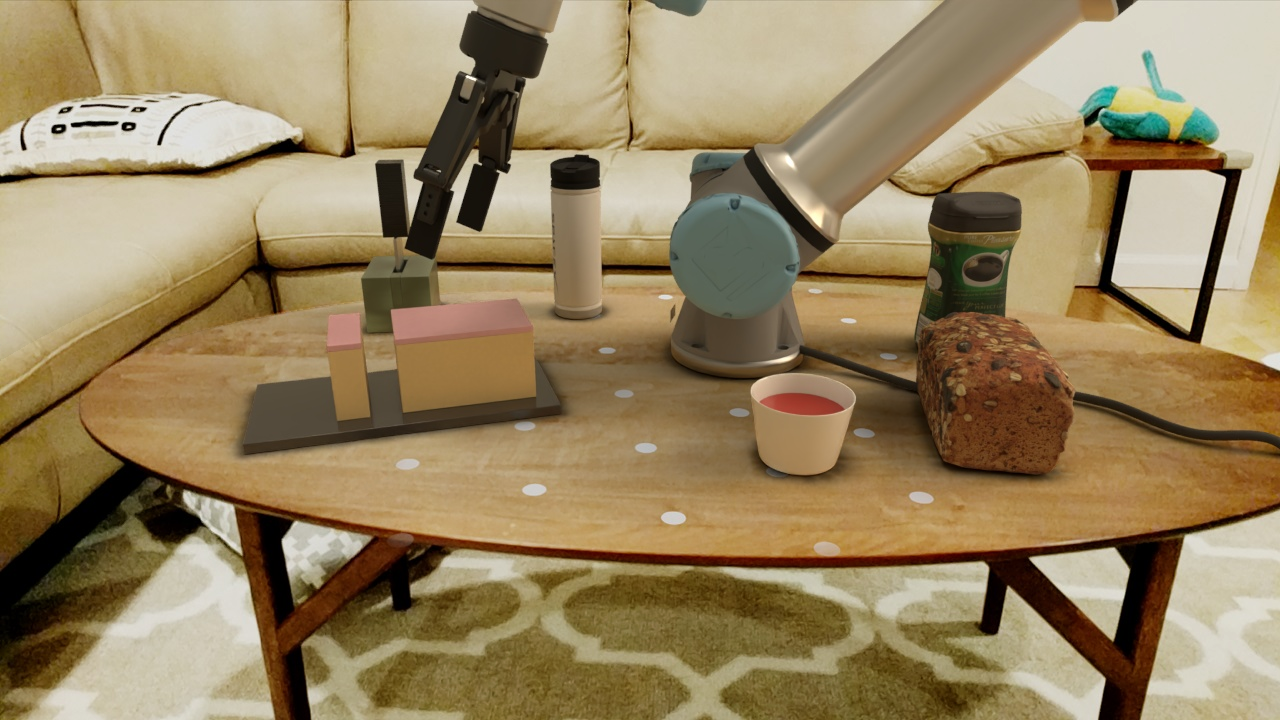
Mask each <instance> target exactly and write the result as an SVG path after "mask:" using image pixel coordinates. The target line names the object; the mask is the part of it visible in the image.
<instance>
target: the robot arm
mask: <svg viewBox="0 0 1280 720" xmlns="http://www.w3.org/2000/svg"><path fill="white" fill-rule="evenodd" d="M563 1H564V0H472V2H473V4H474V5H475V6H477V8H476V10H471V11H470V12H468V13H467V16H466V19H465V23H464V25H463V26H464V27H463V29H462V32H461V37H460V40H459V44H458V45H459V50H460V51H461V52H462V54H464V55H465V56H467V57H468V58H471V59H473V61H474V66H473V68H472V71H471V72H470V74H469V73H468V72H464V71H462V70H459V71H458V72H457V74H456V75H455V78H454V79H455V80H454V82H453V85H452V88H451V91H450V94H449V97H448V99H447V102H446V104H445V106H444V108H443V111H442V113H441V115H440V117H439V120H437V121H438V122H437V124H436V126H435V128H434V130H433V132H432V134H431V137H430V139H429V142H428V143H427V146H426V147H425V150H424V152H423V154H422V157H421V159H420V161H419V164H418V166H417V168H415V169H414V171H413V179H414V180H416V181H419V182H421V183H422V184H421V188H420V191H419V195H418V199H417V203H416V205H415V210H414V212H413V217H412V220H411V222H410V230H409V234H408V237H406V240H405V245H404V248H403V250H407V251H410V253H411V252H412V253H413V254H415V255H421V256H424V257H426V258H428V259H431V260H432V259H434V258H435V256H436V257H437V252H438V248H439V246H440V242H441V238H442V236H443V232H444V229H445V225H446V222H447V218H448V215H449V213H450V208H451V205H452V202H453V198H454V194H455V191H454V190H452V188H453V186H454V185H455V182H456V180H457V178H458V176H459V175H460V173H461V171H462V169H463V168H464V165H465V164H466V162H467V160H468V158H469V157H470V155H471V153H472V151H473V149H474V147H475V145H476V143H477V141H478V153H477V154H478V155H477V157H478V159H477V160H478V161H477V162H475V163H473V165H472V167H471V171H470V175H469V177H468V181H467V183H466V184H467V185H466V188H465V191H464V194H463V198H462V200H461V204H460V208H459V211H458V213H457V218H456V222H455V223H456V224H459V225H461V226H463V227H466V228H469V229H471V230H474V231H475V232H478V233H480V232H482V231H483V229H484V226H485V222H486V219H487V217H488V213H489V209H490V206H491V204H492V203H491V202H492V200H493V196H494V193H495V190H496V188H497V184H498V180H499V177H500V175H501V173H504V174H506V175H507V174H509V173H510V170H511V166H512V164H511V163H510V161H511V159H512V152H513V146H514V141H515V135H516V128H517V123H518V118H519V111H520V107H521V101H522V97H523V93H524V90H525V87H526V86H527V85H526V84H527V79H530V80H533V79H536V78H538V77H539V75H540V73H541V70H542V67H543V63H544V61H545V57H546V53H547V51H548V48H549V46H550V45H549V42H548V39H547V38H546V35H547V34H551V33H554V31H555V27H556V24H557V21H558V18H559V14H560V11H561V7H562V5H563ZM644 1H646V2H648V3H650V4H653V5H654V6H655V7H656V8H658V9H659V10H666V11H668V12H673V13H677V14H679V15H682V16H685V17H689V18H690V17H695V16H697V15H698V14H700V13H701V12H702V11H703V8H704V6H705V5H706V3H707V1H708V0H644ZM1138 1H1139V0H943V1H942V2H941V3H940V4H939V5H938V6H936V7H935V8H934V9H933V10H932V11H931V12H929V14H927V15H926V16H925V17H924V18H922V19H921V20H920V21H919V22H918V23H917V24H916V25H915V26H914V27H912V28H911V29H910V30H909V31H908V32H907V33H906V34H905V35H904V36H903V37H901V38H900V39H899V40H897V42H895V43H894V44H893V45H892V46H891V47H890V48H889V49H888V50H886V52H884V53H883V54H882V55H881V56H880V57H878V58H877V59H876V60H875V61H874V62H873V63H872V64H871V65H870V66H869V67H867V68H866V69H865V70H864V71H863V72H862V73H860V74H859V75H858V76H857V77H856V78H855V79H854V80H852V81H851V82H850V83H849V84H848V85H847V86H846V87H844V89H843V90H841V91H840V92H839V93H838V94H837V95H836V96H835V97H833V98H832V99H831V100H830V101H829V102H828V103H826V105H824V106H823V107H822V108H821V109H820V110H819V111H818V112H816V113H815V114H814V115H813V116H812V117H810V119H809V120H807V121H806V122H805V123H804V124H803V125H801V127H799V128H798V129H796V131H795V132H794V133H793V134H791V135H790V136H789V137H788V138H787V139H785V141H783V142H781V143H780V142H779V143H764V142H763V143H762V142H758V143H756V144H755V145H754V146H752V148H750V149H749V150H748V151H747V152H722V151H721V152H718V151H717V152H714V151H713V152H709V151H707V152H699V153H697V154H696V155H695V156H694V157H693V159H692V163H691V170H690V173H689V176H688V177H689V182H690V200H689V202H687V205H686V207H685V209H684V210H683V211H682V212H681V213H680V215H679V216H678V217H677V220H676V221H675V223H674V225H673V227H672V230H671V233H670V237H669V253H668V257H669V258H668V259H669V267H670V270H671V271H670V272H671V274H672V277H673V279H674V281H675V283H676V286H677V287H678V289H679V290H680V291H681V293H682V294H683V295H684V296H685V297H684V299H683V303H682V305H681V308H680V310H679V313H678V316H677V318H676V321H675V324H674V327H673V330H672V332H671V336H670V353H671V356H672V358H673V359H674V360H675V361H676V362H677V363H679V364H680V365H683V366H684V367H686V368H687V369H690V370H693V371H696V372H699V373H702V374H705V375H709V376H715V377H722V378H723V377H724V378H735V379H754V378H764V377H767V376H771V375H776V374H784V373H788V372H789V371H791V370H793V369H795V368H796V367H798V366H800V364H801V363H802V362H803V359H804V356H806V357H810V358H813V359H816V360H820V361H823V362H825V363H828V364H832V365H833V366H838V367H841V368H844V369H846V370H849V371H852V372H855V373H858V374H861V375H864V376H866V377H870V378H873V379H876V380H878V381H879V380H880V381H883V382H886V383H888V384H890V385H894V386H897V387H900V388H903V389H906V390H908V391H909V390H910V391H913V392H916V393H918V383H917V382H916V381H913V380H910V379H907V378H904V377H900V376H897V375H895V374H892V373H889V372H885V371H882V370H880V369H876V368H873V367H870V366H867V365H864V364H860V363H858V362H854V361H852V360H850V359H846V358H844V357H841V356H838V355H834V354H832V353H828V352H825V351H822V350H819V349H815V348H811V347H809V346H806V345H805V338H804V335H803V331H802V328H801V323H800V320H799V316H798V312H797V308H796V303H795V300H794V296H793V286H794V285H795V283H796V281H797V279H798V276H799V274H800V273H801V272H802V271H803V270H805V269H806V268H807V267H809V266H810V265H811V264H812V263H813V262H815V261H816V260H817V259H818V258H820V257H821V256H822V255H824V253H825V252H827V251H829V250H830V249H831V248H832V247H833V246H834V245H835V244H837V243H838V242H839V241H840V237H841V230H842V228H841V227H842V222H843V219H844V216H845V215H846V214H847V213H848V212H850V211H851V210H852V209H853V208H855V207H856V206H857V205H858V204H860V203H861V202H862V201H863V200H865V199H866V198H867V197H868V196H870V195H871V194H872V193H874V191H876V189H878V188H879V187H881V186H882V184H884V183H886V182H887V181H888V180H889V179H890V178H891V177H892V176H894V175H895V174H896V173H898V172H899V171H900V170H901V169H903V168H904V167H905V166H906V165H907V164H908V163H910V162H911V161H912V160H914V158H916V157H917V156H918V155H920V154H921V153H922V152H923V151H924V150H926V149H927V148H928V147H929V146H931V145H932V144H933V143H935V141H937V140H938V139H939V138H941V136H943V135H945V134H946V133H947V132H948V131H949V130H951V129H952V128H953V127H954V126H956V124H958V123H959V122H960V121H961V120H963V119H964V118H966V116H967V115H969V114H970V113H971V112H972V111H973V110H975V109H976V108H977V107H978V106H979V105H981V104H982V103H983V102H985V101H986V100H987V99H988V98H989V97H991V96H992V95H993V94H995V93H996V92H997V91H998V90H999V89H1001V88H1002V87H1003V86H1004V85H1006V84H1007V83H1008V82H1009V81H1010V80H1012V79H1013V78H1014V77H1015V76H1016V75H1017V74H1019V73H1020V72H1021V71H1023V70H1024V69H1025V68H1026V67H1027V66H1029V65H1030V64H1031V63H1032V62H1033V61H1035V60H1036V59H1037V58H1038V57H1040V56H1041V55H1042V54H1043V53H1045V51H1047V50H1049V48H1051V47H1052V46H1054V45H1055V44H1056V43H1057V42H1058V41H1059V40H1061V39H1062V38H1063V37H1064V36H1065V35H1067V33H1069V32H1070V31H1072V30H1073V29H1074V28H1075V27H1076V26H1078V25H1079V24H1082V23H1085V22H1091V23H1092V22H1094V23H1096V22H1098V23H1100V22H1101V23H1104V22H1105V23H1109V22H1110V23H1111V22H1112V21H1114V20H1115V19H1116V18H1118V17H1119V16H1120V15H1122V13H1124V12H1125V11H1126V10H1127V9H1129V8H1130V7H1132V6H1133V5H1134V4H1135V3H1137V2H1138ZM669 314H670V315H669V316H670V320H669V323H672V321H673V319H675V316H676V303H674V304H673V305H672V307H671V309H670V313H669ZM1073 402H1080V403H1085V404H1089V405H1094V406H1099V407H1102V408H1106V409H1109V410H1111V411H1112V410H1113V411H1116V412H1119V413H1120V414H1124V415H1126V416H1129V417H1130V418H1134V419H1136V420H1138V421H1141V422H1143V423H1145V424H1147V425H1149V426H1153V427H1154V428H1157V429H1160V430H1162V431H1166V432H1168V433H1171V434H1174V435H1177V436H1181V437H1185V438H1189V439H1193V440H1194V439H1195V440H1199V441H1212V442H1213V441H1214V442H1231V441H1233V442H1234V441H1235V442H1237V441H1239V442H1240V441H1244V442H1245V441H1247V442H1249V441H1250V442H1258V443H1259V442H1260V443H1265V444H1268V445H1271V446H1273V447H1275V448H1277V449H1278V450H1280V436H1278V435H1276V434H1274V433H1270V432H1266V431H1260V430H1249V429H1248V430H1247V429H1232V430H1227V429H1226V430H1213V429H1211V430H1210V429H1200V428H1199V429H1198V428H1193V427H1189V426H1186V425H1182V424H1179V423H1175V422H1173V421H1169V420H1166V419H1164V418H1161V417H1158V416H1156V415H1154V414H1151V413H1149V412H1147V411H1144V410H1142V409H1140V408H1137V407H1134V406H1132V405H1130V404H1127V403H1124V402H1121V401H1118V400H1115V399H1111V398H1107V397H1104V396H1099V395H1096V394H1091V393H1086V392H1081V391H1077V390H1075V394H1074V397H1073Z"/></svg>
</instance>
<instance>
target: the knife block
mask: <svg viewBox="0 0 1280 720" xmlns="http://www.w3.org/2000/svg"><path fill="white" fill-rule="evenodd" d="M403 256H404V266H405V268H404V270H403V272H402V273H397V272H396V262H395V255H379V256H378V255H377V256H376V255H375V256H373V257H372V259H371V260H370V263H368V266H367V268H366V269H365V270H364V272H363V274H362V276H361V278H360V282H361V289H362V290H361V291H362V299H363V306H364V314H365V322H366V323H365V324H366V332H367V333H368V334H370V333H371V334H373V333H393V327H392V318H391V310H392V309H404V308H415V307H426V306H437V305H441V296H440V283H439V273H438V272H439V271H438V261H437V260H438V259H437V255H436V256H435V258H434V259H432V260H431V259H428V258H426V257H424V256H421V255H419V254H414V255H413V254H411V255H408V254H407V255H403Z"/></svg>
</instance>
